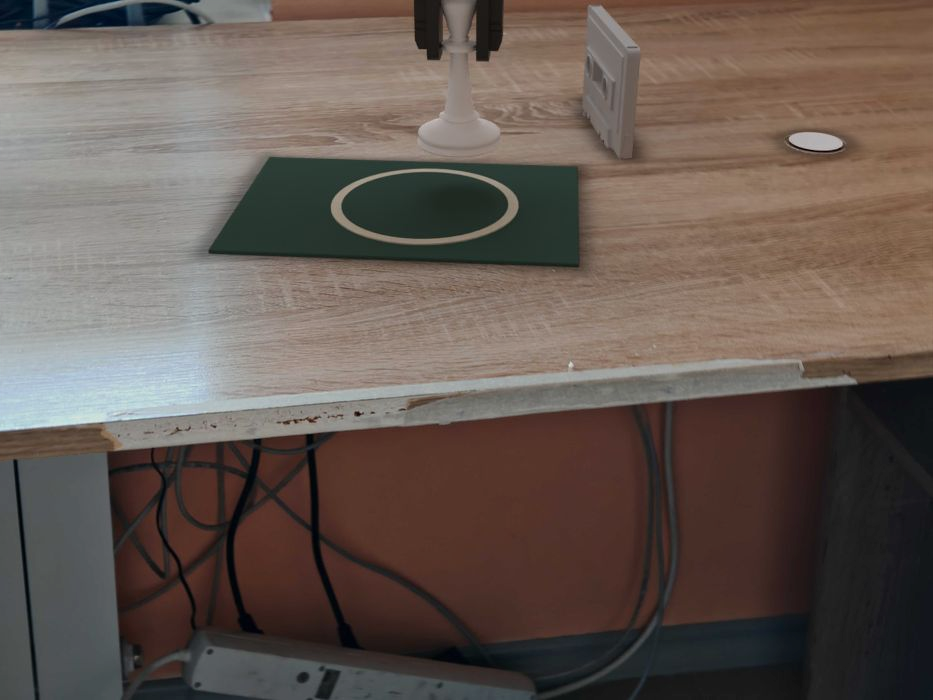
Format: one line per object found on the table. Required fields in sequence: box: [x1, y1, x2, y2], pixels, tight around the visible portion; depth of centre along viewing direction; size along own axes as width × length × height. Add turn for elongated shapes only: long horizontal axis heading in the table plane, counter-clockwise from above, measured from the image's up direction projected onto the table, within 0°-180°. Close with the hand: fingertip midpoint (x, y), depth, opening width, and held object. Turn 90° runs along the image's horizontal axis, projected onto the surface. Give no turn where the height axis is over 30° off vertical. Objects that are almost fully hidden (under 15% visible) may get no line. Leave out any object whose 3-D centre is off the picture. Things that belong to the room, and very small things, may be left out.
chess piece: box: [416, 0, 503, 158], centre depth 60 cm, size 5×5×10 cm
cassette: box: [581, 4, 642, 160], centre depth 74 cm, size 12×2×8 cm, turn 7°
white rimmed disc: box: [784, 131, 847, 156], centre depth 73 cm, size 4×4×1 cm
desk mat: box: [207, 156, 580, 268], centre depth 64 cm, size 20×14×1 cm
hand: (459, 56), depth 60 cm, fingers closed on chess piece
